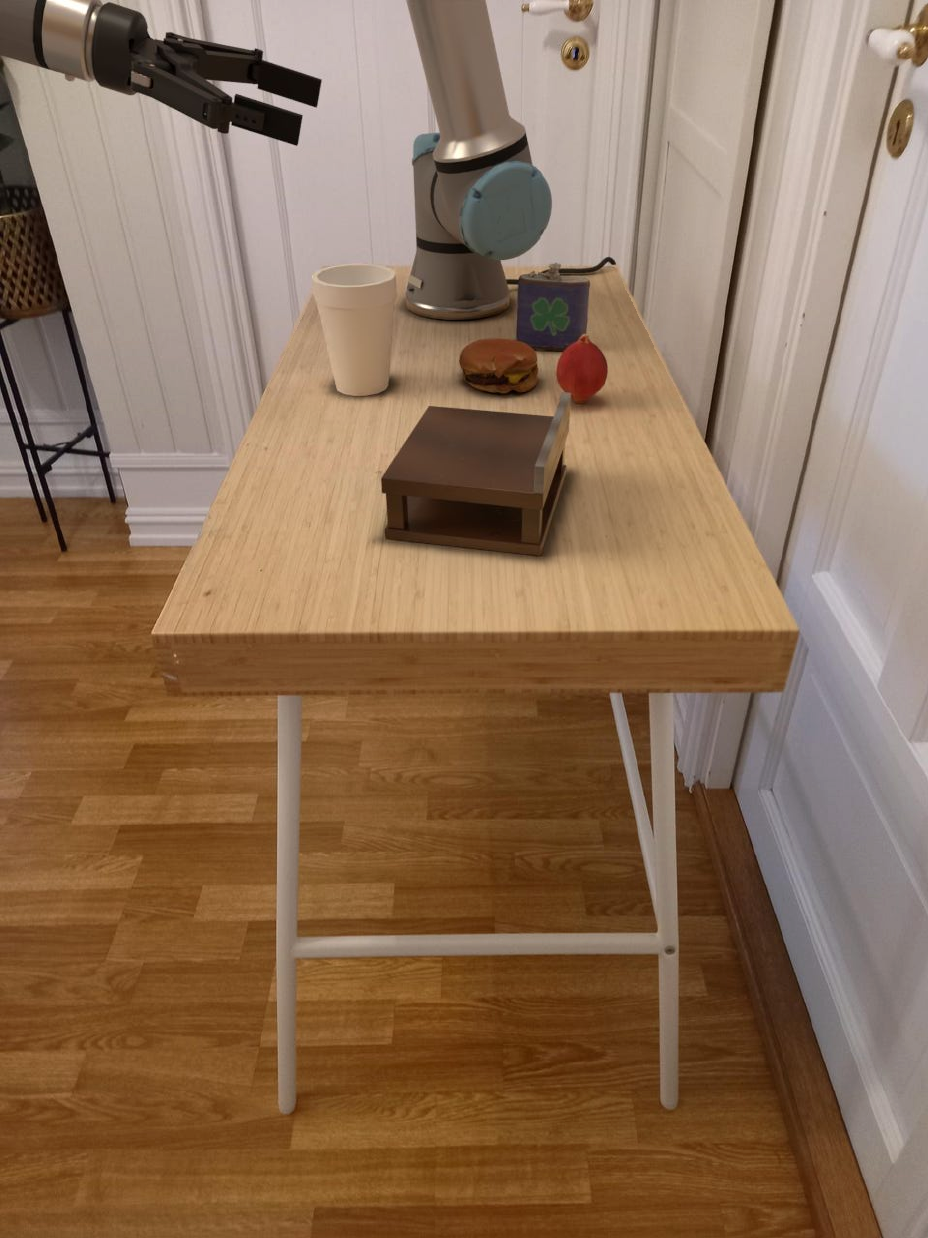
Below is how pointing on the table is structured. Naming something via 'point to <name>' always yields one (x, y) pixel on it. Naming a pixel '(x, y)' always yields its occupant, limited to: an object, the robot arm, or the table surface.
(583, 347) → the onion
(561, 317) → the flask
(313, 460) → the table surface
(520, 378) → the burger
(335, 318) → the foam cup
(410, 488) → the shelf
